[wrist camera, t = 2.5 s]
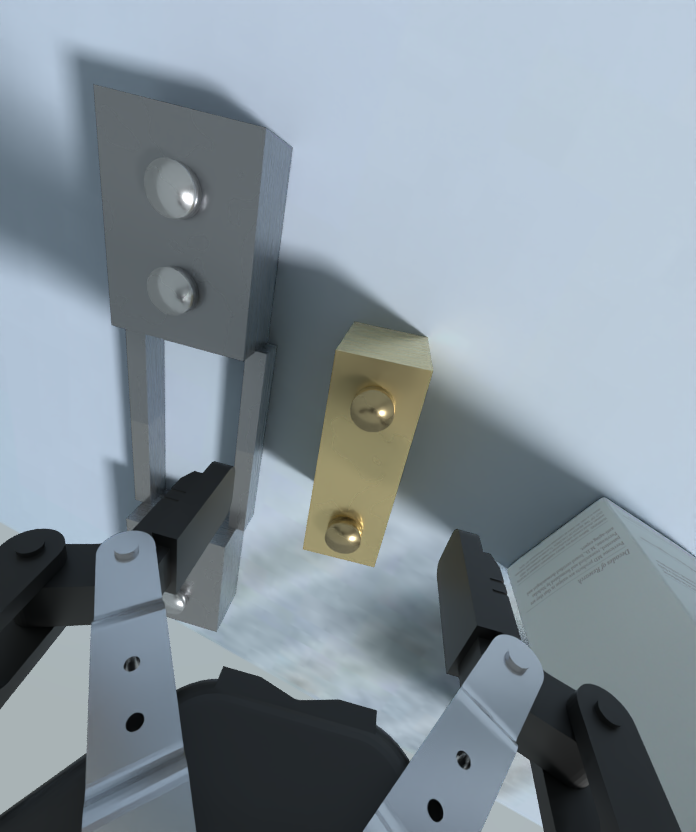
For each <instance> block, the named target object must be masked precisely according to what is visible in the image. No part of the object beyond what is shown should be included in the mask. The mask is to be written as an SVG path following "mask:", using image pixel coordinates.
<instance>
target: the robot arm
mask: <svg viewBox="0 0 696 832" xmlns="http://www.w3.org/2000/svg"><path fill="white" fill-rule="evenodd" d="M234 479H235V467H233V466H230V465H226V464H223V463H219V462H215V461H214V462H212V463H211V464H210V465H209V466H208V468H207V469H206V470H205V471H204V472H203V473H200V472H196V471H194V472H192V473H190V474H188V475H186V476H184V477H182V478H180V479H179V480H178V482H177V483H176V484H175V485H174V486H173V487H172V488H171V490H169V491H168V492H167V493H166V494H165V495H164V497H163V499H161V500H160V501H159V502H158V503H157V504H156V505H155V506H154V507H153V508H152V509H151V510H150V511H149V513H148V514H147V515H146V516H145V517H144V518H143V519H142V520H141V521H140V522H139V523H138V524H137V525H136V526H135V528H134V529H133V530H131V531H125V532H121V533H118V534H115V535H113V536H111V537H110V538H108V539H107V540H105V541H104V542H103V543H101V544H65V539H64V536H63V535H62V534H61V533H60V532H58V531H56V530H52V529H35V530H30V531H26V532H23V533H20V534H18V535H16V536H14V537H12V538H10V539H9V540H7V541H6V542H5V543H3V544H2V545H1V546H0V709H1V707H2V706H3V705H4V704H5V702H6V701H7V700H8V699H9V697H10V696H11V695H12V693H13V692H14V691H15V690H16V689H17V687H18V686H19V685H20V684H21V682H22V681H23V680H24V679H25V677H26V676H27V675H28V674H29V672H30V671H31V670H32V668H33V667H34V666H35V665H36V664H37V662H38V661H39V660H40V659H41V657H42V656H43V655H44V654H45V652H46V651H47V650H48V649H49V647H50V646H51V645H52V643H53V642H54V641H55V640H56V639H57V637H58V636H59V635H60V633H61V632H62V631H63V630H64V628H65V627H66V626H74V625H91V640H90V670H89V699H88V728H87V753H86V754H84V755H83V756H82V757H80V758H79V759H78V760H76V761H75V762H73V763H72V764H71V765H69V766H68V767H66V768H65V769H64V770H62V771H61V772H59V773H58V774H57V775H55V776H54V777H52V778H51V779H50V780H48V781H47V782H45V783H44V784H43V785H41V786H40V787H38V788H37V789H36V790H35V791H33V792H32V793H30V794H29V795H27V796H26V797H24V798H23V799H22V800H20V801H19V802H18V803H16V804H15V805H13V806H12V807H11V808H9V809H8V810H6V811H5V812H4V813H2V814H1V815H0V832H481V830H482V828H483V826H484V824H485V822H486V819H487V817H488V815H489V813H490V810H491V808H492V806H493V804H494V802H495V799H496V797H497V795H498V793H499V790H500V788H501V786H502V784H503V781H504V779H505V777H506V775H507V773H508V770H509V768H510V766H511V764H512V761H513V759H514V757H515V755H516V752H519V753H520V754H522V755H523V756H524V757H526V758H527V759H529V760H530V763H531V768H532V773H533V779H534V784H535V789H536V794H537V799H538V804H539V809H540V814H541V819H542V824H543V829H544V832H682V831H681V829H680V827H679V824H678V822H677V820H676V817H675V815H674V813H673V810H672V808H671V806H670V804H669V801H668V799H667V797H666V794H665V792H664V790H663V787H662V785H661V783H660V780H659V778H658V776H657V774H656V771H655V769H654V767H653V764H652V762H651V760H650V757H649V755H648V753H647V750H646V748H645V746H644V743H643V741H642V739H641V737H640V734H639V732H638V730H637V727H636V725H635V723H634V721H633V719H632V717H631V716H630V714H629V713H628V711H627V710H626V709H625V707H624V706H623V705H622V704H621V703H620V702H619V701H618V700H617V699H616V698H615V697H614V696H613V695H612V694H611V693H609V692H608V691H606V690H605V689H603V688H601V687H599V686H597V685H594V684H583V685H581V686H580V687H579V688H578V689H577V690H574V689H573V688H571V687H569V686H568V685H566V684H564V683H563V682H561V681H559V680H558V679H556V678H554V677H553V676H551V675H550V674H548V673H547V672H545V671H544V670H543V668H542V665H541V663H540V661H539V659H538V658H537V656H536V655H535V653H534V652H533V651H532V650H531V649H530V648H529V647H528V646H527V645H526V644H525V643H524V642H522V641H521V638H520V635H519V631H518V628H517V625H516V621H515V618H514V614H513V611H512V608H511V604H510V601H509V597H508V596H507V590H506V587H505V585H504V580H503V577H502V573H501V570H500V567H499V566H498V564H497V563H496V561H495V560H494V559H493V557H492V556H491V554H489V553H485V552H483V550H482V546H481V542H480V538H479V536H478V535H476V534H473V533H469V532H466V531H462V530H458V529H455V530H454V532H453V533H452V535H451V537H450V539H449V541H448V543H447V545H446V547H445V550H444V552H443V554H442V556H441V558H440V560H439V563H438V568H437V582H438V593H439V603H440V613H441V623H442V633H443V643H444V654H445V664H446V674H450V675H453V676H457V677H459V679H460V689H459V690H458V692H457V693H456V695H455V696H454V698H453V699H452V701H451V702H450V704H449V705H448V706H447V708H446V709H445V711H444V712H443V714H442V715H441V717H440V718H439V720H438V721H437V723H436V724H435V726H434V727H433V728H432V730H431V731H430V733H429V734H428V736H427V737H426V739H425V740H424V742H423V743H422V745H421V746H420V747H419V749H418V750H417V752H416V753H415V755H414V756H413V758H412V759H411V761H409V759H408V758H407V756H406V754H405V753H404V752H403V750H402V749H401V748H400V746H399V745H398V744H397V743H396V742H395V741H394V740H393V739H392V738H391V736H390V735H388V734H387V733H386V732H385V731H384V730H382V729H381V728H380V727H378V726H377V725H376V715H377V710H373V709H370V708H366V707H363V706H359V705H356V704H352V703H349V702H346V701H342V700H296V699H294V698H292V697H291V696H289V695H288V694H286V693H285V692H283V691H282V690H280V689H279V688H277V687H275V686H274V685H272V684H271V683H269V682H268V681H266V680H264V679H263V678H262V677H259V676H256V675H252V674H248V673H245V672H242V671H238V670H234V669H231V668H228V667H224V666H223V669H222V671H221V673H220V676H219V678H218V679H209V680H202V681H198V682H195V683H191V684H189V685H186V686H184V687H181V688H179V689H177V690H176V686H175V678H174V670H173V663H172V655H171V647H170V640H169V632H168V625H167V617H166V609H165V603H164V601H163V600H162V595H163V594H164V592H167V593H171V594H174V595H176V594H177V593H178V591H179V590H180V588H181V587H182V585H183V583H184V582H185V580H186V579H187V577H188V576H189V574H190V573H191V571H192V569H193V568H194V566H195V565H196V563H197V562H198V560H199V559H200V557H201V555H202V554H203V552H204V551H205V549H206V548H207V546H208V544H209V543H210V541H211V540H212V538H213V537H214V535H215V534H216V532H217V530H218V529H219V527H220V526H221V524H222V523H223V521H224V519H225V518H226V516H227V514H228V512H229V510H230V507H231V503H232V498H233V489H234Z"/></svg>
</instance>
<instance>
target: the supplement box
mask: <svg viewBox="0 0 696 832" xmlns="http://www.w3.org/2000/svg"><path fill="white" fill-rule="evenodd" d="M507 571H508V575H509V579H510V582H511V586H512V589H513V592H514V596H515V599H516V602H517V606H518V609H519V613H520V616H521V620H522V623H523V626H524V629H525V633H526V636H527V640H528V643H529V646H530V649H531V650H532V651H533V652H534V653H535V655H536V656H537V658H538V659H539V661H540V663H541V665H542V668H543V670H544V671H545V672H547V673H548V674H550V675H551V676H553V677H554V678H556V679H558V680H559V681H561V682H563V683H564V684H566V685H568V686H569V687H571V688H573V689H574V690H577V689H578V688H579V687H580V686H581V685H583V684H594V685H597V686H599V687H601V688H603V689H605V690H606V691H608V692H609V693H611V694H612V695H613V696H614V697H615V698H616V699H617V700H618V701H619V702H620V703H621V704H622V705H623V706H624V707H625V709H626V710H627V711H628V713H629V714H630V716H631V717H632V719H633V721H634V723H635V725H636V727H637V730H638V732H639V734H640V737H641V739H642V741H643V743H644V746H645V748H646V750H647V753H648V755H649V757H650V760H651V762H652V764H653V767H654V769H655V771H656V774H657V776H658V778H659V780H660V783H661V785H662V787H663V790H664V792H665V794H666V797H667V799H668V801H669V804H670V806H671V808H672V810H673V813H674V815H675V817H676V820H677V822H678V824H679V827H680V829H681V831H682V832H696V558H695V557H694V556H693V555H691V554H690V553H688V552H687V551H686V550H684V549H683V548H681V547H680V546H678V545H677V544H675V543H674V542H672V541H671V540H669V539H668V538H666V537H665V536H663V535H661V534H660V533H658V532H657V531H655V530H654V529H652V528H651V527H649V526H648V525H646V524H645V523H643V522H642V521H640V520H639V519H637V518H636V517H634V516H633V515H631V514H630V513H628V512H627V511H625V510H624V509H622V508H620V507H619V506H617V505H616V504H614V503H613V502H611V501H610V500H609V499H607V498H605V497H603V498H601V499H599V500H598V501H596V502H595V503H593V504H592V505H591V506H590V507H588V508H587V509H585V510H584V511H582V512H581V513H580V514H578V515H577V516H576V517H575V518H573V519H572V520H571V521H569V522H568V523H566V524H565V525H564V526H562V527H561V528H560V529H558V530H557V531H556V532H554V533H553V534H552V535H550V536H549V537H547V538H546V539H545V540H543V541H542V542H541V543H539V544H538V545H537V546H536V547H534V548H533V549H531V550H530V551H529V552H528V553H526V554H525V555H524V556H522V557H521V558H519V559H518V560H517V561H516V562H515V563H513V564H512V565H511V566H510V567H509V568H508V570H507Z"/></svg>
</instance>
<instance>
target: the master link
mask: <svg viewBox="0 0 696 832" xmlns="http://www.w3.org/2000/svg"><path fill="white" fill-rule="evenodd" d="M432 373H433V368H432V362H431V356H430V350H429V344H428V338H427V337H424V336H419V335H415V334H410V333H405V332H401V331H396V330H391V329H387V328H382V327H377V326H373V325H368V324H363V323H359V322H354V323H353V324H352V326H351V327H350V329H349V330H348V332H347V333H346V335H345V336H344V338H343V340H342V341H341V343H340V344H339V346H338V347H337V349H336V351H335V357H334V363H333V369H332V375H331V381H330V387H329V393H328V399H327V405H326V411H325V417H324V423H323V430H322V436H321V442H320V448H319V454H318V460H317V466H316V472H315V478H314V484H313V490H312V496H311V502H310V509H309V515H308V521H307V527H306V533H305V539H304V545H303V549H304V550H308V551H312V552H316V553H320V554H324V555H328V556H332V557H336V558H340V559H344V560H348V561H352V562H356V563H359V564H363V565H367V566H371V567H374V566H375V563H376V560H377V556H378V553H379V550H380V546H381V543H382V540H383V536H384V533H385V530H386V526H387V523H388V520H389V516H390V513H391V510H392V506H393V503H394V500H395V496H396V493H397V490H398V486H399V483H400V480H401V476H402V473H403V470H404V466H405V463H406V460H407V456H408V453H409V450H410V446H411V443H412V440H413V436H414V433H415V430H416V426H417V423H418V420H419V416H420V413H421V410H422V406H423V403H424V400H425V396H426V393H427V390H428V386H429V383H430V380H431V376H432Z"/></svg>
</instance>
